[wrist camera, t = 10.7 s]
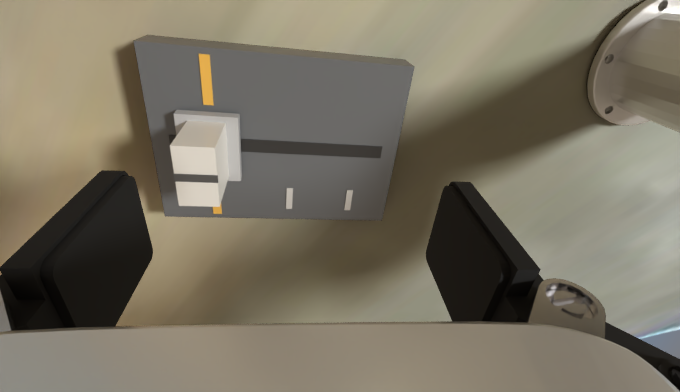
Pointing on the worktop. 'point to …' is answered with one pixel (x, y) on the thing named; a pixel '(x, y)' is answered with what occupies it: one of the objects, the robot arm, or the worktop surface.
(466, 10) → the worktop surface
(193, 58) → the console
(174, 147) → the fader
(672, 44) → the robot arm
